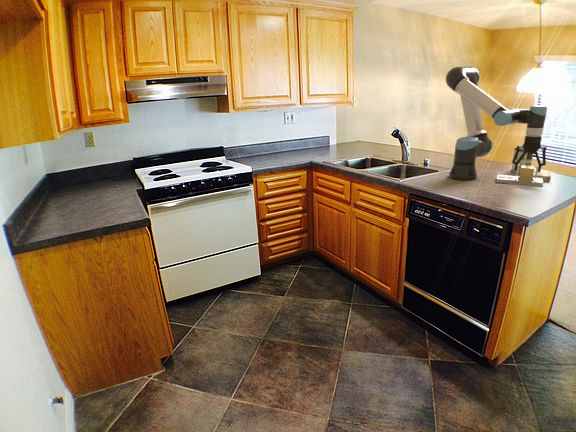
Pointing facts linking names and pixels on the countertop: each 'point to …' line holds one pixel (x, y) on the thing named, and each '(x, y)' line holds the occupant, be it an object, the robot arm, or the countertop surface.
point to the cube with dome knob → (526, 173)
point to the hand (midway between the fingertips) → (525, 176)
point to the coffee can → (525, 160)
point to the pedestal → (543, 175)
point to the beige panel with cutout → (516, 180)
